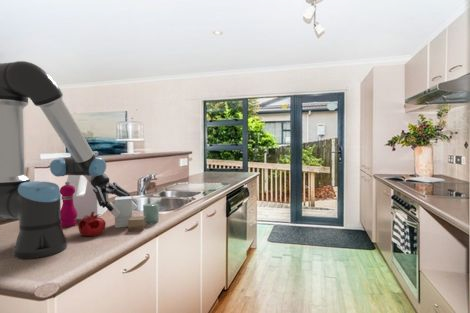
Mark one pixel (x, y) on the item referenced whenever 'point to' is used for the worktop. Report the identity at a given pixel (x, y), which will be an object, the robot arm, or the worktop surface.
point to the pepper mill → (68, 206)
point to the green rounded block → (151, 212)
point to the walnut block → (137, 223)
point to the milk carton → (84, 197)
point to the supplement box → (123, 210)
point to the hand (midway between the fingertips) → (127, 211)
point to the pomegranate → (91, 225)
